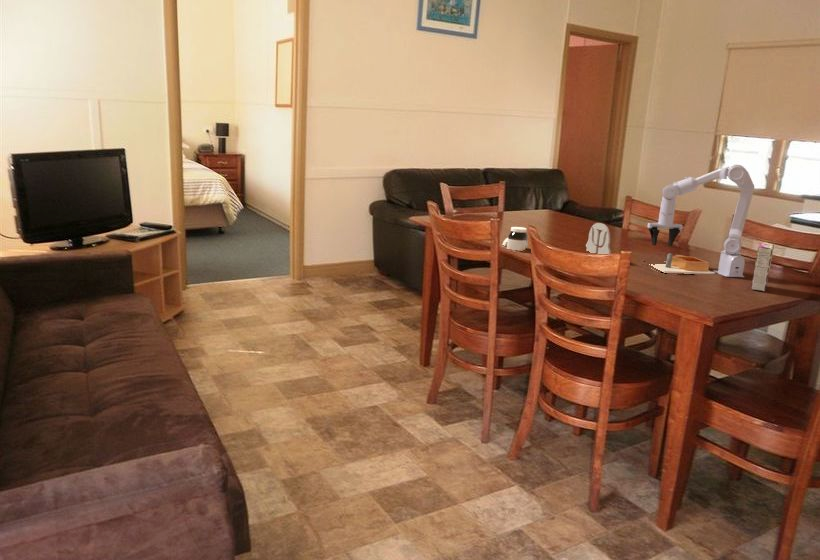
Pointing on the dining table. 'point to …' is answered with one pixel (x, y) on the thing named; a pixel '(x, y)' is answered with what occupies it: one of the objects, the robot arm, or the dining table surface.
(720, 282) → the dining table surface
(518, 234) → the spread jar
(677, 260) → the wooden link
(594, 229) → the ornament
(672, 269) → the board
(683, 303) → the dining table surface
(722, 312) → the dining table surface
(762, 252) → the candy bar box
